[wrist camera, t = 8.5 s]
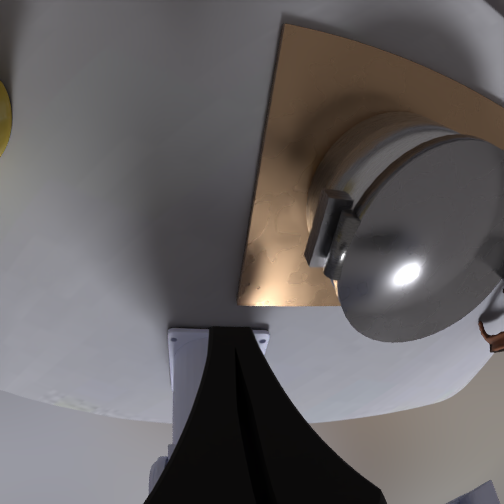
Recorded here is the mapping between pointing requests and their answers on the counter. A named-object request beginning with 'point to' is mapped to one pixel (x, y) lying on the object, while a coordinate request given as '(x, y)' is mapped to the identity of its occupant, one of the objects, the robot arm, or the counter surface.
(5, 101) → the plant pot
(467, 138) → the cooker lid
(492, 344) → the pottery mug
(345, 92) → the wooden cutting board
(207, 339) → the robot arm
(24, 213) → the counter surface
